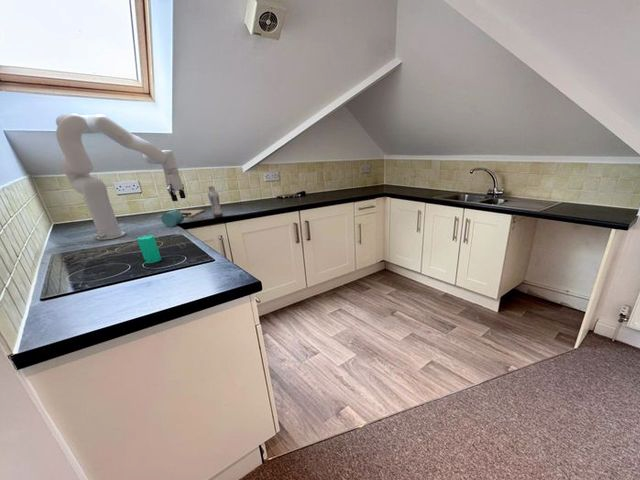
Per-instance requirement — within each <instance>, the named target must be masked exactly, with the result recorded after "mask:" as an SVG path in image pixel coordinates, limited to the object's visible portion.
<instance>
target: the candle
mask: <svg viewBox="0 0 640 480" xmlns="http://www.w3.org/2000/svg"><path fill="white" fill-rule="evenodd" d="M136 240H137V243H138V245H139V246H138V247H139V249H140V251H141V254H142V257H143V260H144V262H145V263H146V264H153V263H158V262H160V261H162V256H161V254H160V251H159V247H158V244H157V241H156V238H155V236H154V234H147V235H145V233H143V236H139V237H137V238H136ZM145 260H146V261H145ZM150 260H152V261H150Z"/></svg>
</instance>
